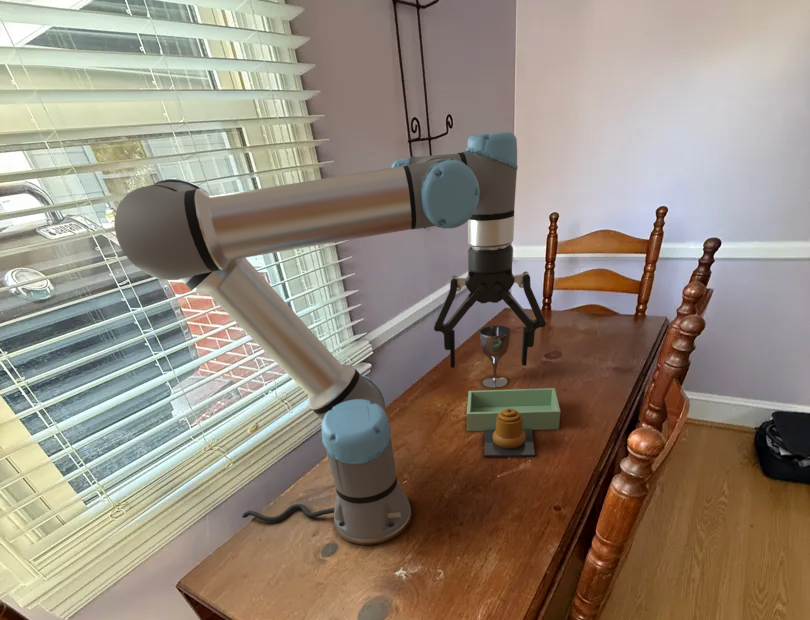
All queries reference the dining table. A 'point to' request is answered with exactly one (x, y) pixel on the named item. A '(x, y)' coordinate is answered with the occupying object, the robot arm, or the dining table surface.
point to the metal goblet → (495, 350)
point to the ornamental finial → (509, 429)
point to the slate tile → (520, 451)
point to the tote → (530, 403)
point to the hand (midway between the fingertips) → (487, 364)
